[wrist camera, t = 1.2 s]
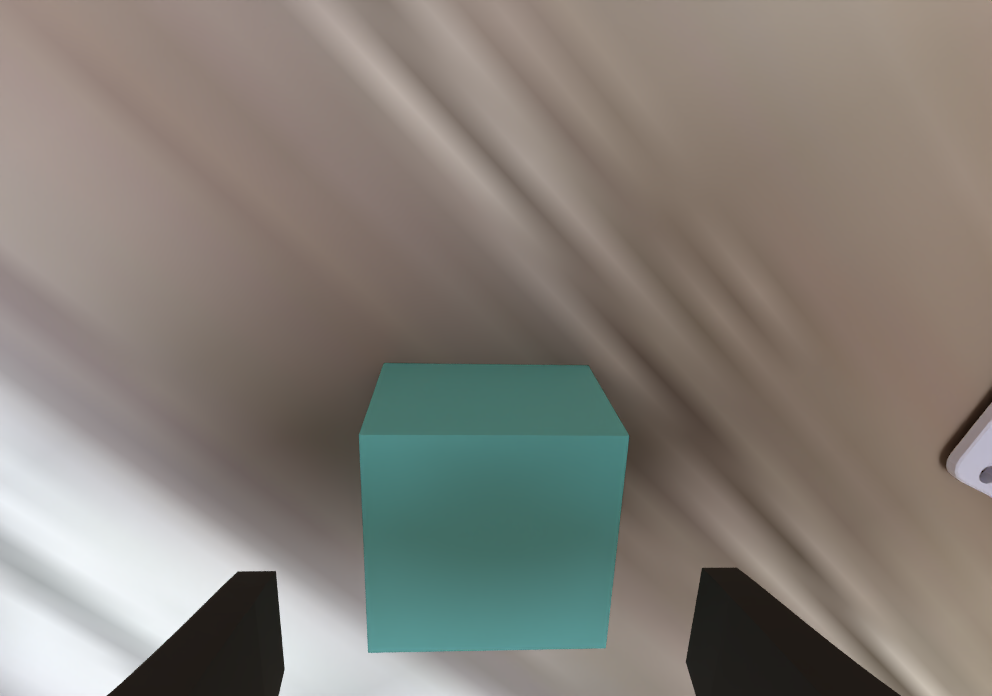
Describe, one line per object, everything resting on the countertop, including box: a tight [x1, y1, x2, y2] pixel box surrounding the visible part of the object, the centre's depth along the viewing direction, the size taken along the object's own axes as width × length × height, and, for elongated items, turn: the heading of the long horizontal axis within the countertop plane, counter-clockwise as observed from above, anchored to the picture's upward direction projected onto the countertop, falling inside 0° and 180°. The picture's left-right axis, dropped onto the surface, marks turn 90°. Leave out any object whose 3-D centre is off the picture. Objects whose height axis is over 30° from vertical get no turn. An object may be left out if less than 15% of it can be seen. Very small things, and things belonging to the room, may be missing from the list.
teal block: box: [359, 363, 629, 653], centre depth 14 cm, size 5×5×4 cm
